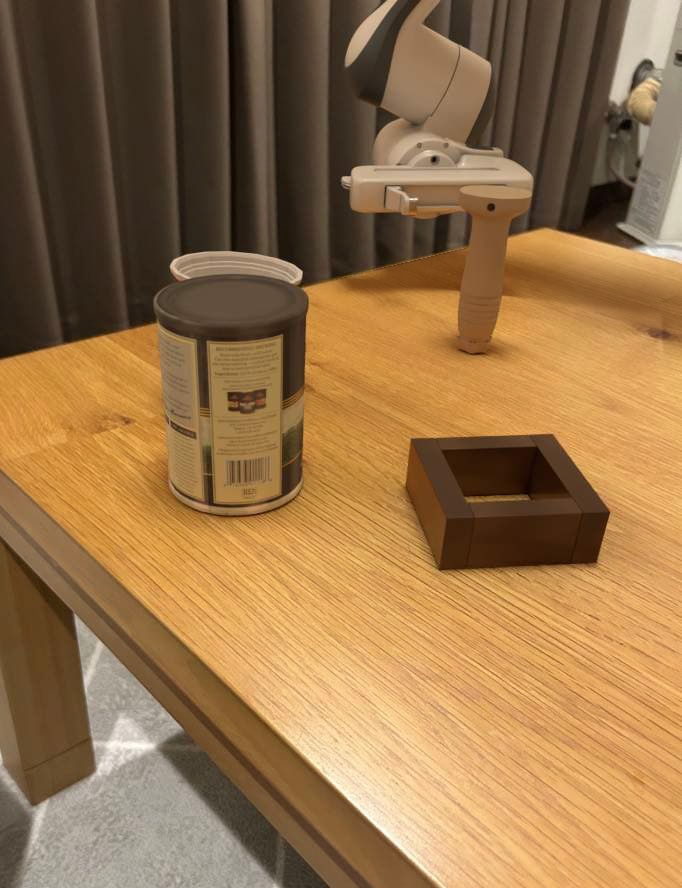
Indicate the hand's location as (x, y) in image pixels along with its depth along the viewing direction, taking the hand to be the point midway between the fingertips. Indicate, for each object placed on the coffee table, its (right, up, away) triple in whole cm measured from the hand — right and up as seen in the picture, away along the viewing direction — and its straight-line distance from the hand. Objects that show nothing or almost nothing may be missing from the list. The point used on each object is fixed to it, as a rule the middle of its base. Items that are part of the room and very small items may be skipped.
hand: (455, 206), depth 91 cm
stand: (-3, -34, -30) cm, 45 cm away
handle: (+1, -16, -4) cm, 16 cm away
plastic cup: (-22, -23, -14) cm, 34 cm away
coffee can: (-22, -31, -25) cm, 45 cm away
